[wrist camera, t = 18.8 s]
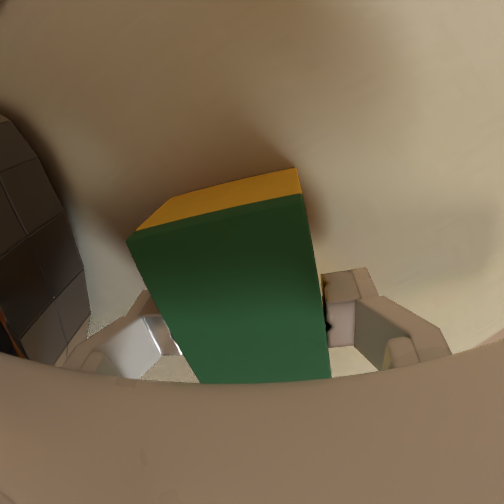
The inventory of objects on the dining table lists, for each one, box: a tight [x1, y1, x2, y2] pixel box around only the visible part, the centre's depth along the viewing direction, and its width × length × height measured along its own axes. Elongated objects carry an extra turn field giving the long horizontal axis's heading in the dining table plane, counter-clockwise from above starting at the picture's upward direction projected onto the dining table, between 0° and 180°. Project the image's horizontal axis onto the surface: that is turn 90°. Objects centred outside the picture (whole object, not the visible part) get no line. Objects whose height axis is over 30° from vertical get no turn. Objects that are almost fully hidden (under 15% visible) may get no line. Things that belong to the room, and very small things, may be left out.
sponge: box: [126, 168, 331, 384], centre depth 10 cm, size 7×4×4 cm, turn 15°
